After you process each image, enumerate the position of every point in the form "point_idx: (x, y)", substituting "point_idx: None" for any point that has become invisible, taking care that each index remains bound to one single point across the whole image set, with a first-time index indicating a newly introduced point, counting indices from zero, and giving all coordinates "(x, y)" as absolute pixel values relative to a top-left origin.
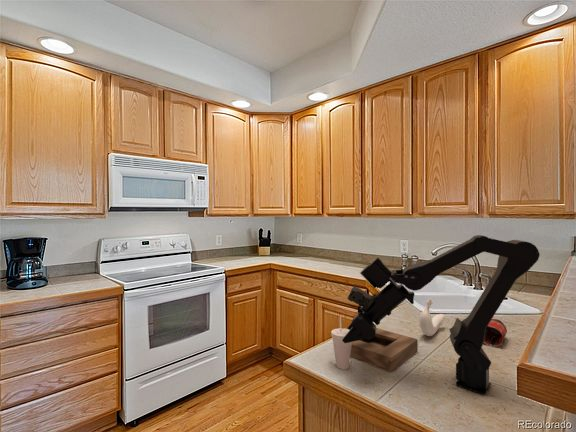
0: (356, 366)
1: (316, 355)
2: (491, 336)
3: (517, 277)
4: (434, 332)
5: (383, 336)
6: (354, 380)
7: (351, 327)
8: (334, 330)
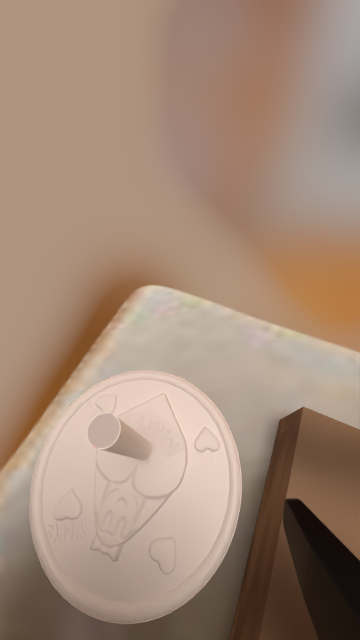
0: None
1: (215, 344)
2: None
3: None
4: None
5: None
6: (31, 565)
7: (304, 560)
8: (163, 389)
